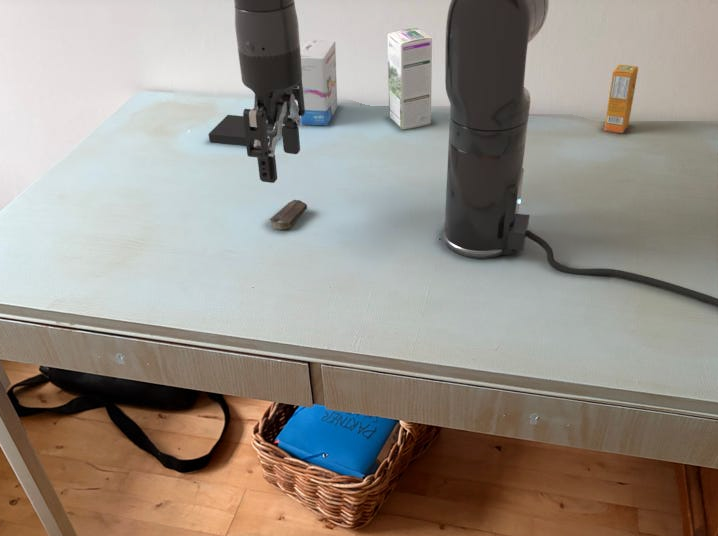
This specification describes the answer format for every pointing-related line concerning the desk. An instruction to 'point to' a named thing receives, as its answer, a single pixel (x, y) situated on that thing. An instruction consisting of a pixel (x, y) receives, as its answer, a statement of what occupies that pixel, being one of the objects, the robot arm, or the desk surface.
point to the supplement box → (620, 98)
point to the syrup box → (409, 78)
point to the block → (288, 215)
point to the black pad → (230, 131)
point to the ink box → (319, 82)
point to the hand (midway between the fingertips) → (281, 166)
